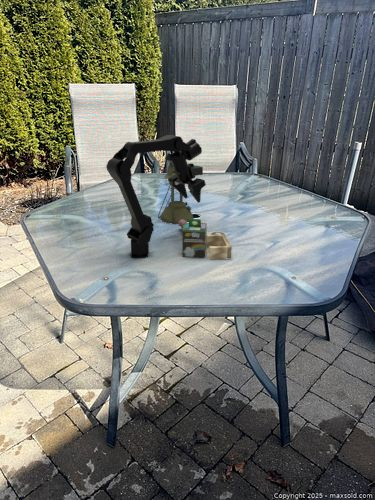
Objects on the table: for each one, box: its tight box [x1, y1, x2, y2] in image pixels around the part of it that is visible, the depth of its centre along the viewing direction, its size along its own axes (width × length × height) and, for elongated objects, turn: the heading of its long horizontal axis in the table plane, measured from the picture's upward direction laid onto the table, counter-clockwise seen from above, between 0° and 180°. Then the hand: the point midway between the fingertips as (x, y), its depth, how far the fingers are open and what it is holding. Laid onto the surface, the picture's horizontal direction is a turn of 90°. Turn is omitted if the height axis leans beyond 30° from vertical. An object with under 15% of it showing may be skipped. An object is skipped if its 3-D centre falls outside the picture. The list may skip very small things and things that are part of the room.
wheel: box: [210, 231, 225, 235], centre depth 166 cm, size 6×6×3 cm
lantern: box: [157, 161, 195, 225], centre depth 186 cm, size 21×18×30 cm
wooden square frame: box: [206, 233, 233, 260], centre depth 152 cm, size 8×14×5 cm, turn 6°
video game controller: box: [177, 219, 187, 230], centre depth 173 cm, size 10×5×7 cm, turn 21°
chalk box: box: [181, 218, 208, 259], centre depth 150 cm, size 9×9×15 cm
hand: (192, 200), depth 158 cm, fingers open, 9 cm apart
